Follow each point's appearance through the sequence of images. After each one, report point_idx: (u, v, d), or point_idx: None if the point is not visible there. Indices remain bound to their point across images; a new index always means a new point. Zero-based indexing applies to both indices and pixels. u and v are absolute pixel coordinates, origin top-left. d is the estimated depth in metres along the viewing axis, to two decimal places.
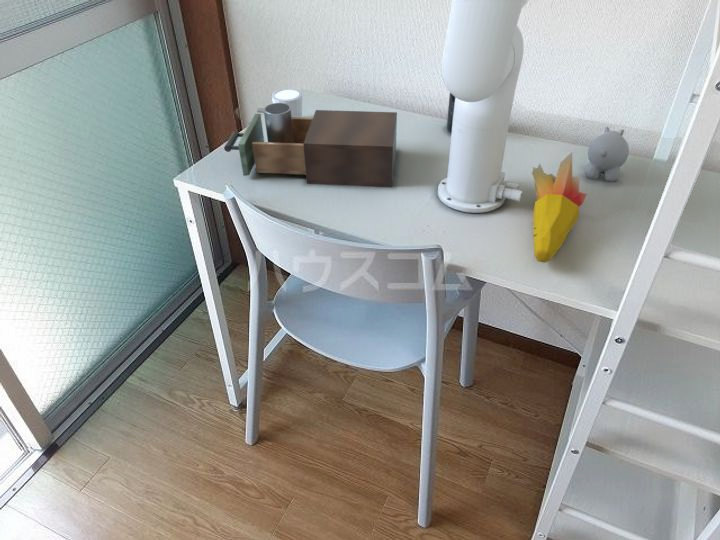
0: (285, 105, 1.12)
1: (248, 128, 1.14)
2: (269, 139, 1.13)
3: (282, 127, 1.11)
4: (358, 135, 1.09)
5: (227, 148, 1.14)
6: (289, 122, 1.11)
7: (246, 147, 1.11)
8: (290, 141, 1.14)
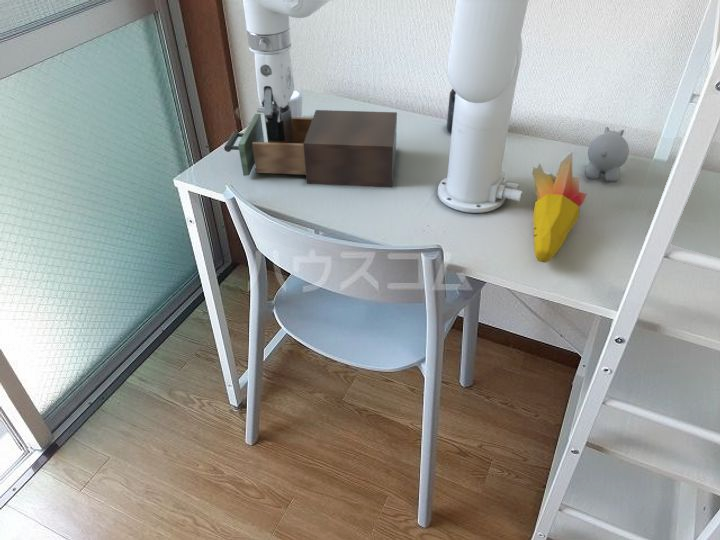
0: None
1: (248, 128, 1.14)
2: None
3: None
4: (358, 135, 1.09)
5: (227, 148, 1.14)
6: (289, 122, 1.11)
7: (246, 147, 1.11)
8: (290, 141, 1.14)
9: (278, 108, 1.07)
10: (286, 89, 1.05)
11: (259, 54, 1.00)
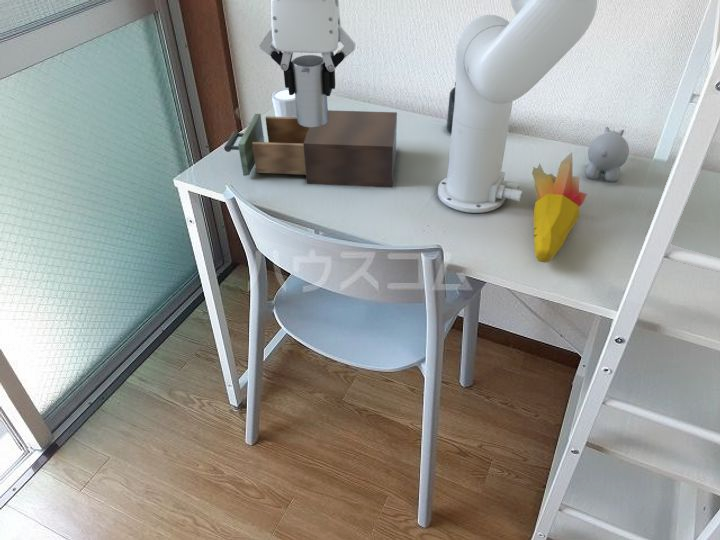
0: (301, 57, 0.91)
1: (248, 128, 1.14)
2: (320, 100, 0.92)
3: None
4: (358, 135, 1.09)
5: (227, 148, 1.14)
6: None
7: (246, 147, 1.11)
8: None
9: None
10: None
11: None
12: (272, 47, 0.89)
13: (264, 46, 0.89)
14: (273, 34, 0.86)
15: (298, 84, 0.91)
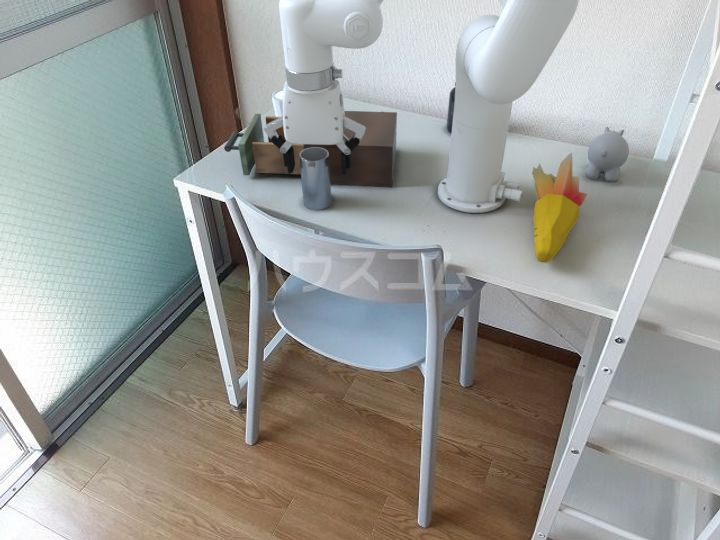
0: (307, 150, 1.02)
1: (248, 128, 1.14)
2: (324, 187, 1.03)
3: None
4: None
5: (227, 148, 1.14)
6: None
7: (246, 147, 1.11)
8: None
9: (343, 134, 0.99)
10: None
11: (333, 87, 0.92)
12: (274, 133, 0.99)
13: (268, 130, 0.98)
14: (285, 130, 0.96)
15: (305, 174, 1.01)
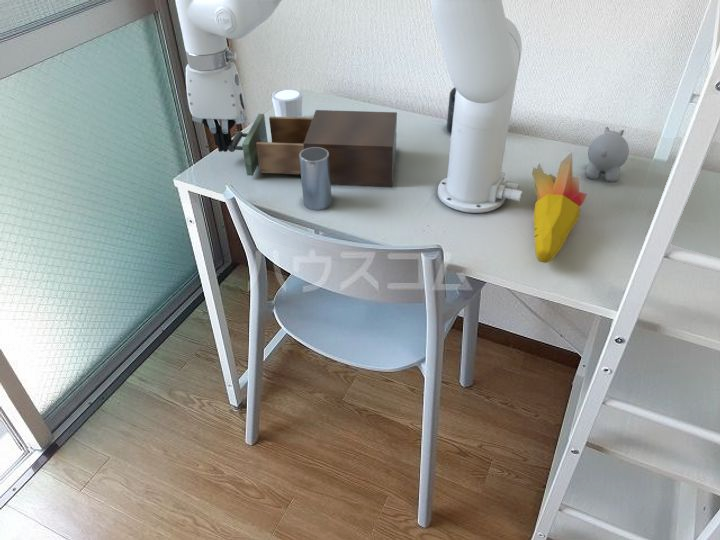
0: (307, 150, 1.02)
1: (252, 128, 1.14)
2: (324, 187, 1.03)
3: None
4: (358, 135, 1.09)
5: (231, 148, 1.14)
6: None
7: (250, 147, 1.11)
8: None
9: None
10: None
11: (228, 68, 1.06)
12: None
13: (195, 118, 1.13)
14: (189, 105, 1.10)
15: (305, 174, 1.01)
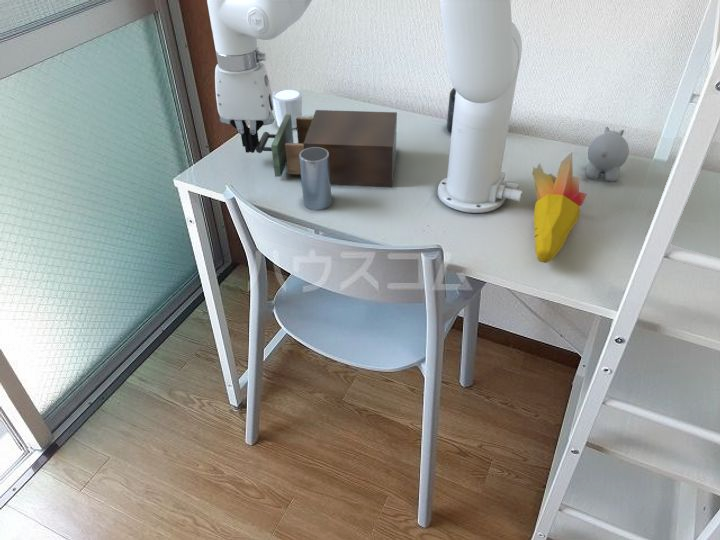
0: (307, 150, 1.02)
1: (280, 129, 1.13)
2: (324, 187, 1.03)
3: None
4: (358, 135, 1.09)
5: (259, 149, 1.13)
6: None
7: (279, 148, 1.10)
8: None
9: None
10: None
11: (258, 69, 1.05)
12: None
13: (223, 119, 1.13)
14: (218, 106, 1.10)
15: (305, 174, 1.01)
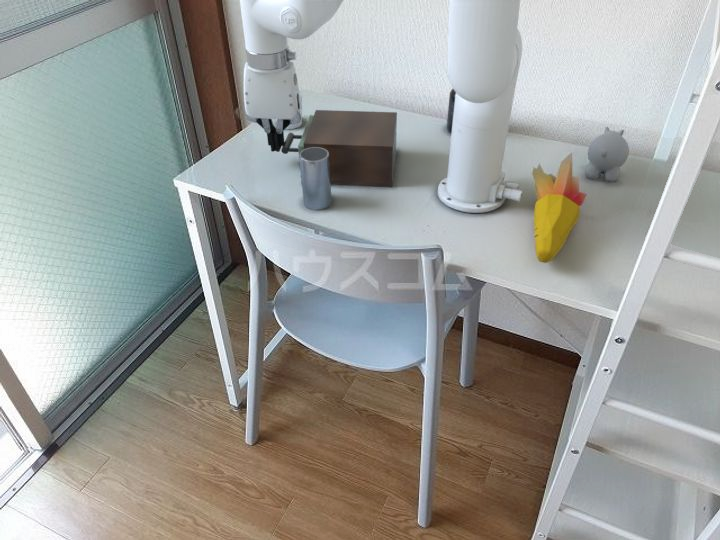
0: (307, 150, 1.02)
1: (305, 130, 1.13)
2: (324, 187, 1.03)
3: None
4: (358, 135, 1.09)
5: (284, 150, 1.13)
6: None
7: None
8: None
9: None
10: None
11: (288, 68, 1.04)
12: None
13: (249, 118, 1.12)
14: (245, 105, 1.09)
15: (305, 174, 1.01)
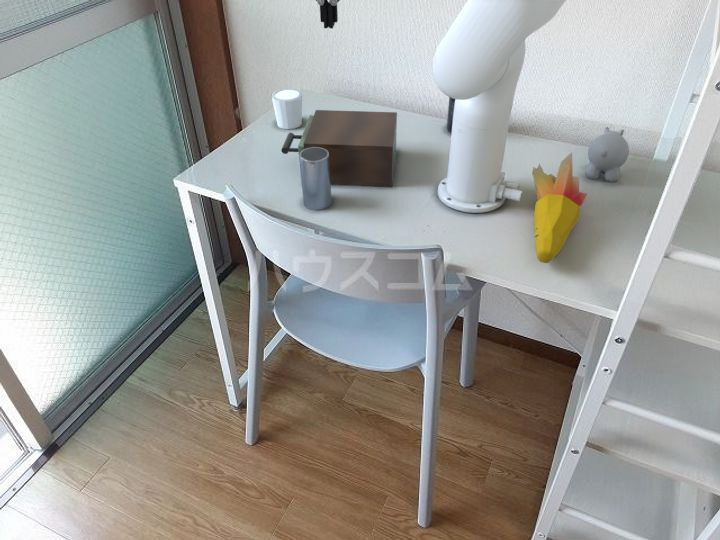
0: (307, 150, 1.02)
1: (305, 130, 1.13)
2: (324, 187, 1.03)
3: None
4: (358, 135, 1.09)
5: (284, 150, 1.13)
6: None
7: None
8: None
9: None
10: None
11: None
12: None
13: None
14: None
15: (305, 174, 1.01)
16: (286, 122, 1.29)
